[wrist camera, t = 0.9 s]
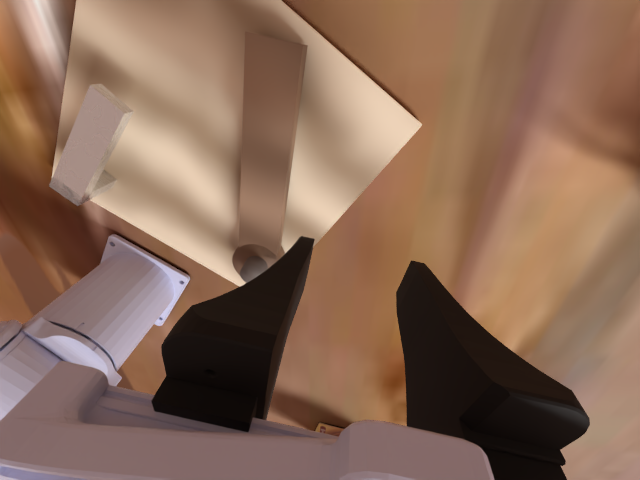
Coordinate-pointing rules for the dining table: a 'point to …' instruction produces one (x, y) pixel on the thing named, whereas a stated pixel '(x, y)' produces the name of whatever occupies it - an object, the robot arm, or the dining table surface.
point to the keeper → (91, 146)
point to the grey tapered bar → (267, 148)
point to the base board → (221, 120)
